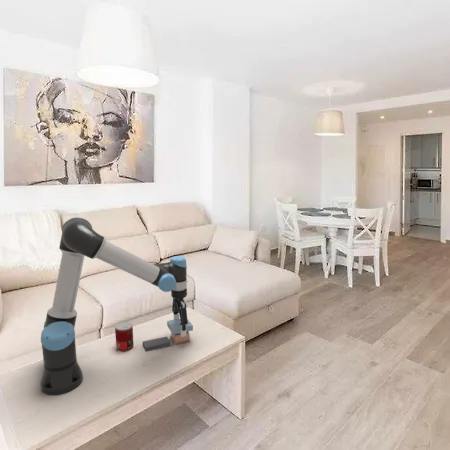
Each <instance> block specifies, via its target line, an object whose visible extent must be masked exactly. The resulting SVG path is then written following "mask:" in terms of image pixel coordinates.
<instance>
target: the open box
mask: <svg viewBox="0 0 450 450" xmlns="http://www.w3.org/2000/svg"><path fill="white" fill-rule="evenodd" d="M170 334H171V337H170V338H171V340H172V341H173V343H174V344H175V345H178V344H182V343H186V342H190V331H188V332H186V336H184V337H181V336H180V333H178V334H174V335H173V334H172V332H171V331H170Z"/></svg>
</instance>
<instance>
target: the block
mask: <svg viewBox="0 0 450 450" xmlns="http://www.w3.org/2000/svg"><path fill="white" fill-rule="evenodd" d="M171 345H172V344H171V340H170V339H169V337H168V336H162V337H158V338H154V339H149V340H144V341H142V346H143V349H144V351H145V352H150V351H154V350H158V349H164V348H168V347H171Z"/></svg>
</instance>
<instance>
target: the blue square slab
mask: <svg viewBox="0 0 450 450" xmlns="http://www.w3.org/2000/svg"><path fill="white" fill-rule="evenodd" d="M187 320H188V324H186V332H192V331H194V325H193V323H191V321H190V320H189V319H188V318H187ZM180 324H181V321H180V318H179V319H175V320H174V319H170V320H167V321H166V325H167V327H168V329H169V330H170V333H171V332H172V334H173V335H174V334H178V333H180Z"/></svg>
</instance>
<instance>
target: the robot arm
mask: <svg viewBox="0 0 450 450" xmlns="http://www.w3.org/2000/svg"><path fill="white" fill-rule="evenodd" d="M58 248H59V250H60V251H61V253H62V254H61V259H60V265H59V269H58V274H57V280H56V285H55V291H54V297H53V300H52V301H53V302H52V307H50V308H49V309H47V313H46V318H45V321H44V323H43V329H42V331H41V333H40V334H41V335H40V343H41V347H42V349H41V350H42V359H43V360H42V361H43V368H44V369H43V372H42V376H41V379H40V390H41V391H42V393H44V394H46V395H51V396H54V395H55V396H56V395H61V394H66V393H68V392H71V391H72V390H74V389H76V388H78V387H79V386H80V384H82V382H83V380H84V375H83V371H82V368H81V366H80V364H79V362H78V360H77V349H76V348H77V346H76V331H75V329H76V328H75V327H76V321H77V316H78V312H77V310H76V309H75V306H76V302H77V296H78V292H79V286H80V280H81V275H82V271H83V265H84V261H85V257H88V258H90V259H91V260H93V259H97V260H100V261H101V262H104V263H107V264H108V265H111V266H113V267H115V268H117V269H119V270H121V271H123V272H125V273H127V274H130V275H132V276H134V277H136V278H138V279H140V280H142V281H144V282H146V283H150V284H151V285H153V286H155V287H156V288H157V287H158V289H159V290H161V291H162V292H164V293H169V292H170V294H171V295H170V296H171V298H172V306H171V307H172V309H171V311H172V312H173V313H172V314H173V320H175V319H180V321H181V324H180V336H181V337H184V336H186V324H188V320H189V319H188V314H187V313H188V311H187V303H186V302H185V298H186V297H187V296H188V289H187V286H188V285H187V283H188V280H187V279H188V278H187V274H188V273H187V272H188V271H187V259H186V258H185V256H181V255H175V256H171V258H170V259H169V262H161V263H151V262H149V261H147V260H146V259H143V258H141V257H140V256H136V255H135V254H133V253H132V252H129V251H127V250H125V249H123V248H121V247H119V246H117V245H115V244H113V243H111V242H109V241H107V240H106V237H105V236H103V235H101V234H99V233H98V232H96V231H95V230H94V228H93V225H92V224H91V222H90V221H89V220H87V219H85V218H84V217H79V216H77V217H72V218H71V217H70V218H69V219H68V220H66V221H65V222H64V223H63V225H62V227H61V236H60V242H59V247H58ZM187 319H188V320H187Z"/></svg>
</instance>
